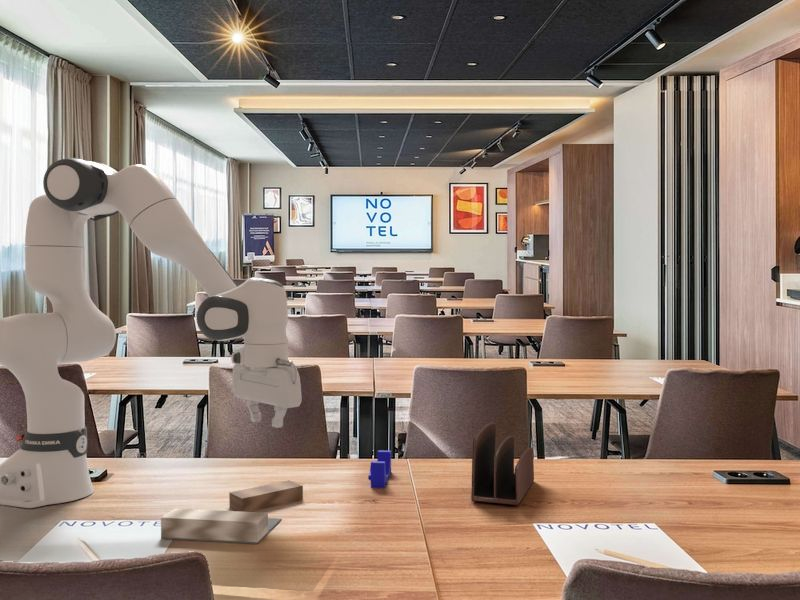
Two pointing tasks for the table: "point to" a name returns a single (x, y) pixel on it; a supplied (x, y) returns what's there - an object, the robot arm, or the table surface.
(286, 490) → the walnut plank
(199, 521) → the beige wooden block
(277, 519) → the underlay mat
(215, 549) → the table surface
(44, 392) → the robot arm
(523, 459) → the letter holder
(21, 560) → the table surface
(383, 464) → the cable clip
